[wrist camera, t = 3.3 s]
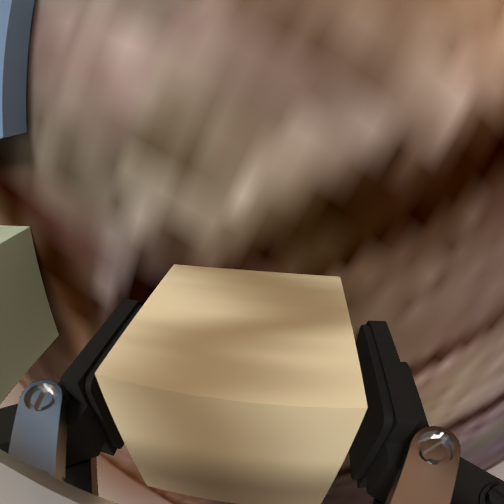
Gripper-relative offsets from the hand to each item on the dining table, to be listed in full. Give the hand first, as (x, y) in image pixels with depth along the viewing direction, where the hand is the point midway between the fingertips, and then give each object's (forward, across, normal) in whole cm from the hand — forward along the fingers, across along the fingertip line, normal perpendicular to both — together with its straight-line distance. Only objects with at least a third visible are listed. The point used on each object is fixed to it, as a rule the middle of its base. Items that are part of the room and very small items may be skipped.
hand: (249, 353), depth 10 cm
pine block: (+1, 0, 0) cm, 1 cm away
